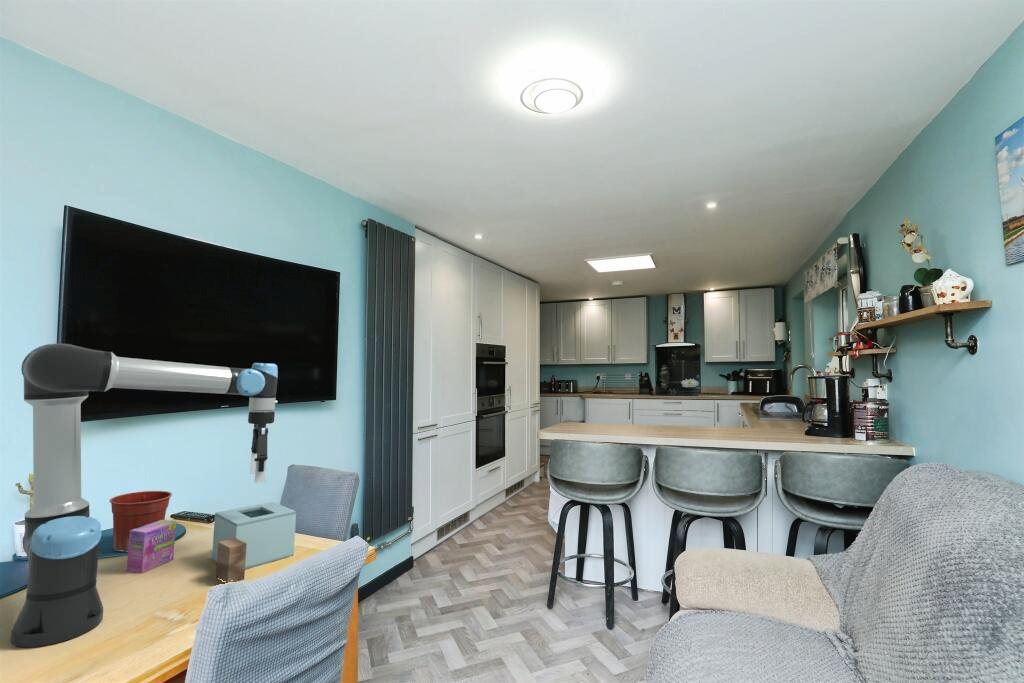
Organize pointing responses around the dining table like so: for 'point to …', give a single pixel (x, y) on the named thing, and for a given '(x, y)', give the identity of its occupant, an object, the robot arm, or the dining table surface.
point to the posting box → (258, 532)
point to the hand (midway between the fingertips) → (257, 477)
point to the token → (231, 560)
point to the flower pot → (136, 513)
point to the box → (151, 546)
